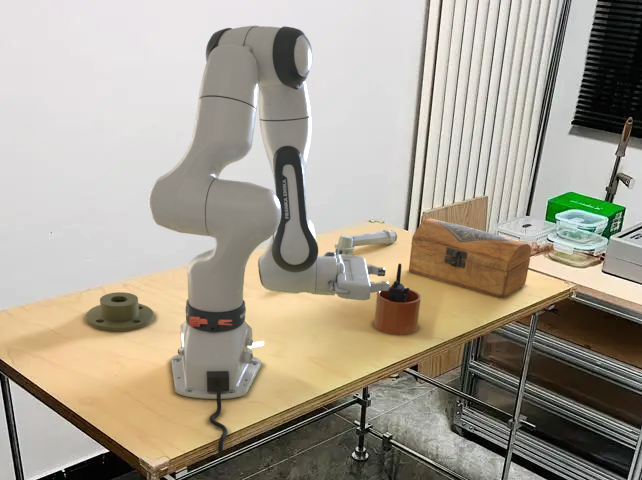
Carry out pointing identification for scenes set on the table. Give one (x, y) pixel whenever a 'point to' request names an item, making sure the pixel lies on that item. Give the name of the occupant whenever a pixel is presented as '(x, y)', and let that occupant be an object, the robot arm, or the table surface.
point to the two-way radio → (398, 289)
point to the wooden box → (469, 258)
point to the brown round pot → (397, 313)
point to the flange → (119, 313)
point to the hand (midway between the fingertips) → (387, 278)
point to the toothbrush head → (364, 241)
